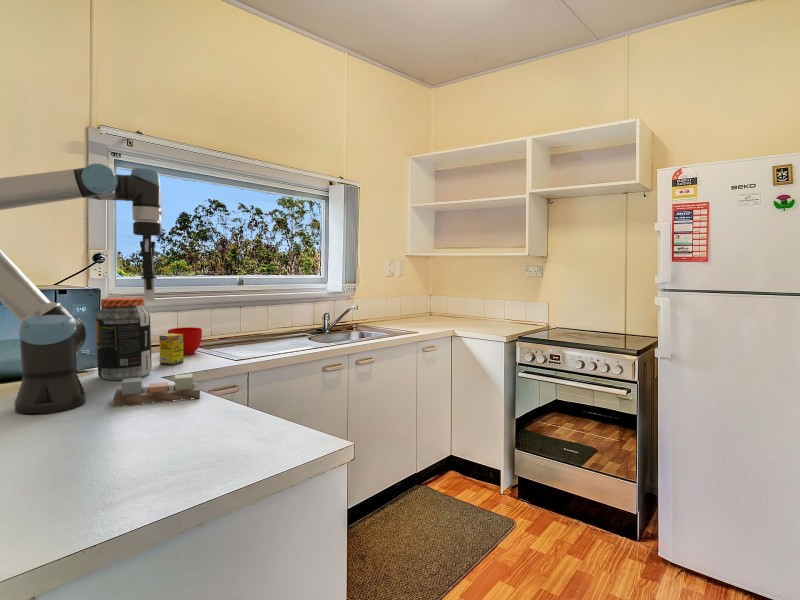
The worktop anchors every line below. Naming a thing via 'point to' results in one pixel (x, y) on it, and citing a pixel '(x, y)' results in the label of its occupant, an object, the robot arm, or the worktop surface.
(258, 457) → the worktop surface
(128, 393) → the slate block
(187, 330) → the ceramic cup
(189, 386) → the sage block
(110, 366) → the supplement tub
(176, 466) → the worktop surface
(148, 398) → the wooden block tray
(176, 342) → the supplement box
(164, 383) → the terracotta block
